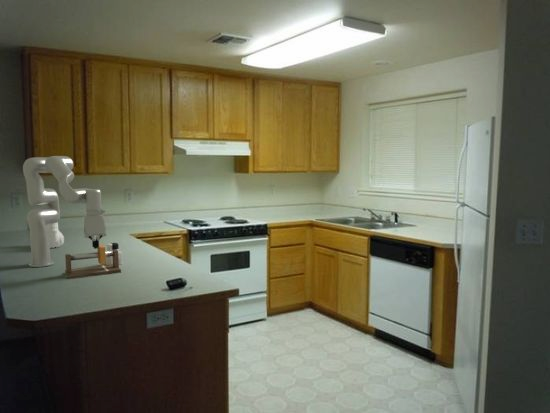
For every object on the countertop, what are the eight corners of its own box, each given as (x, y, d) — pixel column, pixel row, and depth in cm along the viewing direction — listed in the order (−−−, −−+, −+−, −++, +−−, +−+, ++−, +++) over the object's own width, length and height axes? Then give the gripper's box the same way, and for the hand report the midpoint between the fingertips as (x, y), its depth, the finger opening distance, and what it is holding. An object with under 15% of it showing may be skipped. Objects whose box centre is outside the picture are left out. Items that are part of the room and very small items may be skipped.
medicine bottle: (116, 262, 263) (115, 241, 262) (122, 264, 258) (121, 243, 257) (104, 264, 258) (103, 243, 257) (110, 266, 253) (109, 244, 252)
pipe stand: (65, 272, 239) (64, 252, 238) (115, 266, 252) (114, 247, 251) (68, 278, 226) (67, 257, 225) (120, 272, 239) (120, 252, 238)
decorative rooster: (40, 245, 317) (38, 210, 315) (65, 244, 323) (63, 209, 321) (35, 252, 294) (33, 213, 292) (62, 250, 300) (60, 212, 297)
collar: (98, 261, 244) (97, 244, 243) (102, 261, 245) (102, 244, 244) (101, 264, 236) (100, 247, 235) (105, 264, 237) (105, 247, 237)
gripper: (108, 211, 244) (109, 245, 246) (77, 213, 236) (79, 248, 238) (110, 212, 237) (112, 247, 239) (79, 214, 230) (81, 250, 232)
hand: (95, 248), depth 239 cm, fingers closed
